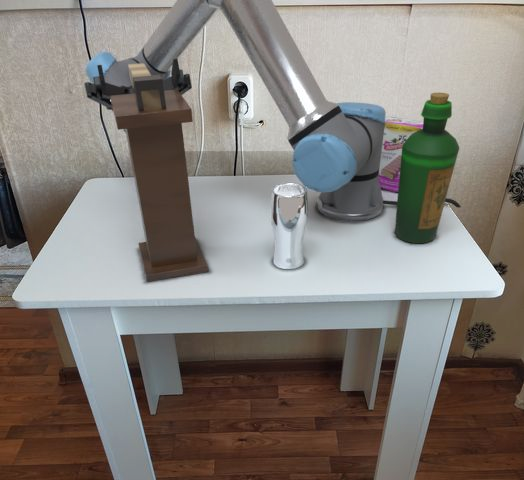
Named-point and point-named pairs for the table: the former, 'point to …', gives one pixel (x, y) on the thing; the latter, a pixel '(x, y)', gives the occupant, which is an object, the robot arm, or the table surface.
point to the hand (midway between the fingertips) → (139, 69)
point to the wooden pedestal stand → (161, 185)
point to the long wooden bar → (147, 88)
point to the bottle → (426, 173)
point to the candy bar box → (394, 150)
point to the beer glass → (289, 223)
